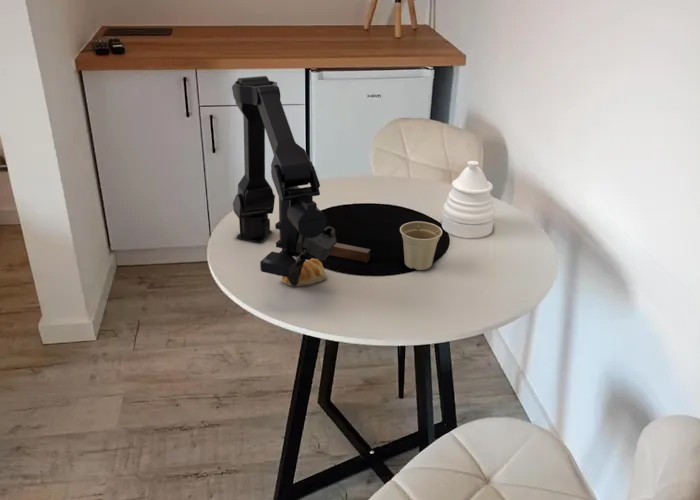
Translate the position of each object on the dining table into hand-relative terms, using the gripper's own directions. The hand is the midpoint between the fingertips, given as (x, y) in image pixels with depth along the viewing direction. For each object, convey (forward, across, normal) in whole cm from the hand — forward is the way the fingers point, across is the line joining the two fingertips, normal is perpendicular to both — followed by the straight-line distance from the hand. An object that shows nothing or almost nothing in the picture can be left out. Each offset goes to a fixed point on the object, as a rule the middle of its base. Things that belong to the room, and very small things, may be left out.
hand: (294, 285), depth 143 cm
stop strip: (+1, +19, 0) cm, 19 cm away
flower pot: (+1, +22, -21) cm, 30 cm away
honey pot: (+1, +46, -27) cm, 53 cm away
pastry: (+1, +5, 0) cm, 5 cm away
